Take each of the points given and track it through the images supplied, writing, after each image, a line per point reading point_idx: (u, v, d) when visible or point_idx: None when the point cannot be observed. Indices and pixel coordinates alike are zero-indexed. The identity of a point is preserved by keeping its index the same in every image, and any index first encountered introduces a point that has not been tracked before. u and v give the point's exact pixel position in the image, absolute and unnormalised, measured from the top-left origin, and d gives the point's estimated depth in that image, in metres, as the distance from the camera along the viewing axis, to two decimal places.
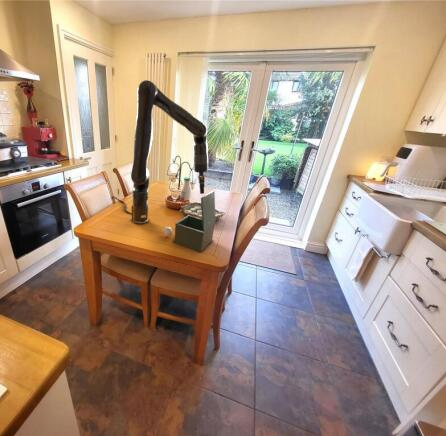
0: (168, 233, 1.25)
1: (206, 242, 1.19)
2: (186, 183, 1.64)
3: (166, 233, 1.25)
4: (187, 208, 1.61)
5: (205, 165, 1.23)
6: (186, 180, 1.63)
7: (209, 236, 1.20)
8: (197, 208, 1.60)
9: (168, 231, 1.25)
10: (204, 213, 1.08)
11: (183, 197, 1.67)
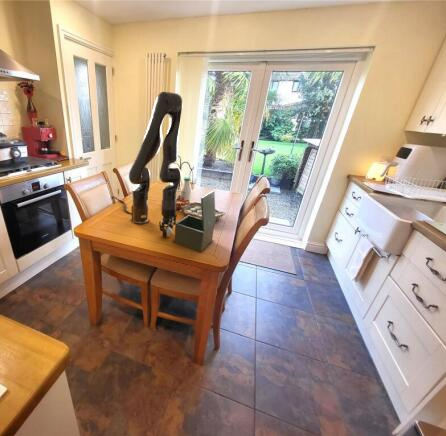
0: (168, 233, 1.25)
1: (206, 242, 1.19)
2: (186, 183, 1.64)
3: None
4: (187, 208, 1.61)
5: (169, 211, 1.18)
6: (186, 180, 1.63)
7: (209, 236, 1.20)
8: (197, 208, 1.60)
9: (168, 231, 1.25)
10: (204, 213, 1.08)
11: (183, 197, 1.67)
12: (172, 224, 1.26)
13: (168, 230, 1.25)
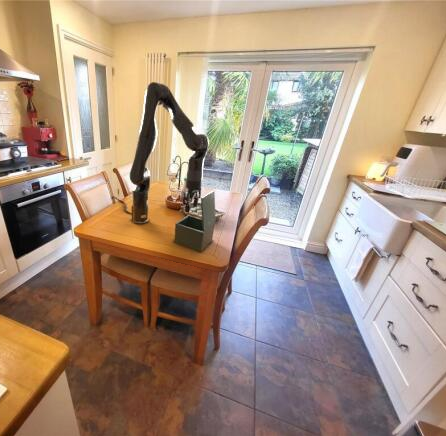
0: None
1: (206, 242, 1.19)
2: None
3: None
4: None
5: (195, 183, 1.09)
6: None
7: (209, 236, 1.20)
8: (197, 208, 1.60)
9: None
10: (204, 213, 1.08)
11: (183, 197, 1.67)
12: (197, 198, 1.18)
13: None
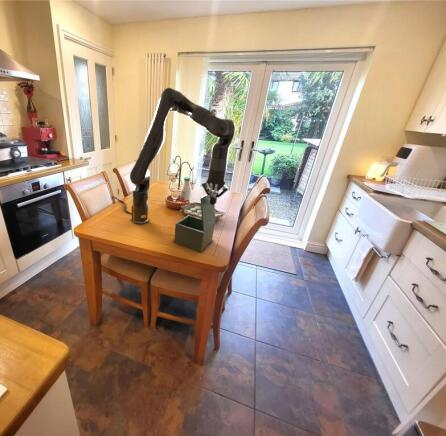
0: None
1: (206, 242, 1.19)
2: (186, 183, 1.64)
3: None
4: (187, 208, 1.61)
5: (209, 170, 1.04)
6: (186, 180, 1.63)
7: (209, 236, 1.20)
8: (197, 208, 1.60)
9: None
10: (204, 213, 1.09)
11: (183, 197, 1.67)
12: (213, 192, 1.06)
13: None
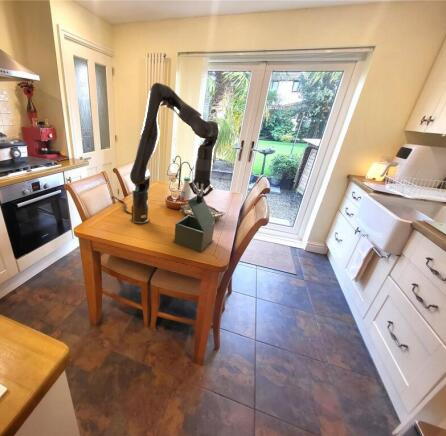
0: None
1: (206, 242, 1.19)
2: (186, 183, 1.64)
3: None
4: (187, 208, 1.61)
5: (195, 170, 1.07)
6: (186, 180, 1.63)
7: (209, 236, 1.20)
8: None
9: None
10: (196, 214, 1.11)
11: (183, 197, 1.67)
12: (200, 191, 1.10)
13: None
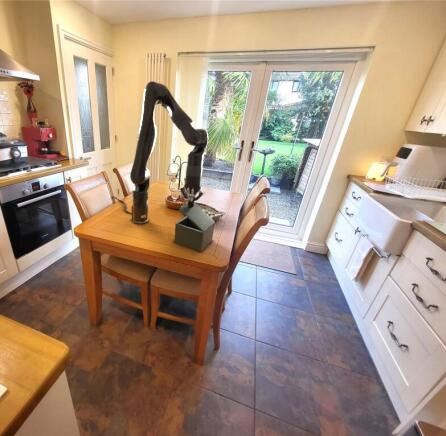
0: None
1: (206, 242, 1.19)
2: None
3: None
4: None
5: None
6: None
7: (209, 236, 1.20)
8: None
9: None
10: (191, 217, 1.13)
11: (183, 197, 1.67)
12: (190, 196, 1.14)
13: None
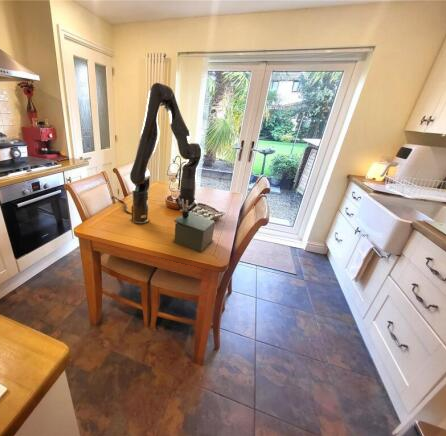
0: None
1: (206, 242, 1.19)
2: None
3: None
4: None
5: (180, 187, 1.15)
6: None
7: (209, 236, 1.20)
8: (197, 208, 1.60)
9: None
10: (188, 224, 1.16)
11: None
12: (185, 207, 1.18)
13: None
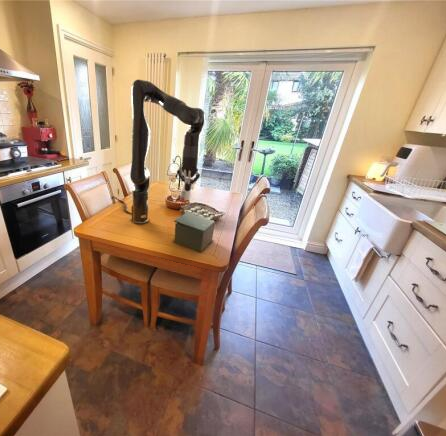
0: None
1: (206, 242, 1.19)
2: None
3: None
4: (187, 208, 1.61)
5: (182, 157, 1.09)
6: None
7: (209, 236, 1.20)
8: (197, 208, 1.60)
9: None
10: (188, 224, 1.16)
11: (183, 197, 1.67)
12: (187, 178, 1.12)
13: None
